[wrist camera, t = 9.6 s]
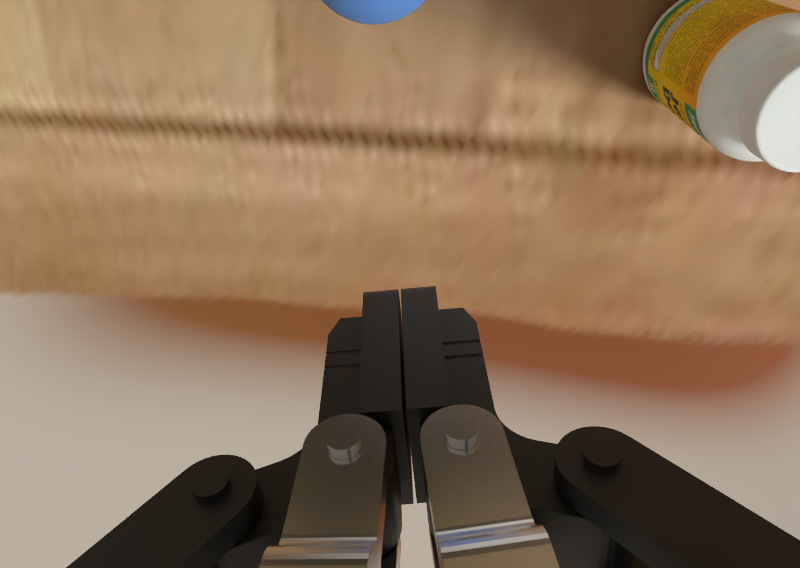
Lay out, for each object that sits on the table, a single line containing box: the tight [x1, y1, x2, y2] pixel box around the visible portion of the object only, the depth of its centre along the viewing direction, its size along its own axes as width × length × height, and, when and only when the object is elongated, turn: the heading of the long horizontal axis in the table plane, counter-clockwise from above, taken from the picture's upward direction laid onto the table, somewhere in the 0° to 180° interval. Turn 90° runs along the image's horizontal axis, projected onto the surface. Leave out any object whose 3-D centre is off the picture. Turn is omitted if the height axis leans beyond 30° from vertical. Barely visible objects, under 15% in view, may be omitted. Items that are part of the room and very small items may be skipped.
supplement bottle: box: [643, 0, 800, 172], centre depth 25 cm, size 5×5×10 cm
